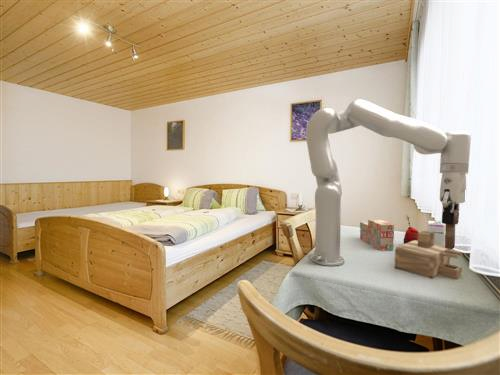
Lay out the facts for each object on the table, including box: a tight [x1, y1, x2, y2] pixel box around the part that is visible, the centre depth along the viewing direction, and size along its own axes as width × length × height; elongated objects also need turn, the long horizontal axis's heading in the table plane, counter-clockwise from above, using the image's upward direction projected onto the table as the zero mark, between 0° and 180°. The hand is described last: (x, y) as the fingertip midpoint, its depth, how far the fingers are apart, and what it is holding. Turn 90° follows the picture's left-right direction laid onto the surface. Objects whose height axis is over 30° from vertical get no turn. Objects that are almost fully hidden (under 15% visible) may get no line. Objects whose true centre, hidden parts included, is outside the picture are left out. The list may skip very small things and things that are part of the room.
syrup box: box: [427, 220, 446, 246], centre depth 107 cm, size 6×6×14 cm
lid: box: [395, 230, 463, 259], centre depth 92 cm, size 16×17×7 cm
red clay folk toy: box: [403, 214, 419, 244], centre depth 122 cm, size 8×7×15 cm
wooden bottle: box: [445, 210, 459, 250], centre depth 87 cm, size 4×4×13 cm
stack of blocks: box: [359, 218, 395, 252], centre depth 126 cm, size 21×6×12 cm, turn 0°
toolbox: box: [394, 248, 463, 280], centre depth 93 cm, size 16×17×7 cm
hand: (449, 222), depth 87 cm, fingers closed on wooden bottle, 3 cm apart
